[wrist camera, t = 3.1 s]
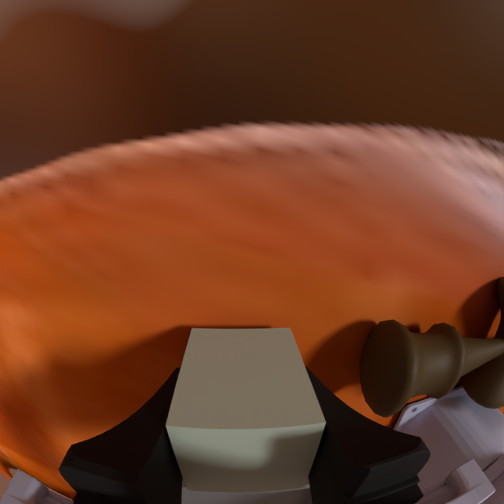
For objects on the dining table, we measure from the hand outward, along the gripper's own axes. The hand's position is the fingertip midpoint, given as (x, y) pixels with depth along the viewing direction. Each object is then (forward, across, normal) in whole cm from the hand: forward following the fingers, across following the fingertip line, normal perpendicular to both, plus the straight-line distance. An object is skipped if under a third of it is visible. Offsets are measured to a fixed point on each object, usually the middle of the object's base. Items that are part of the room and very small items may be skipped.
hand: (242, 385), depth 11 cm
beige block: (+1, 0, 0) cm, 1 cm away
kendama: (+3, -16, +1) cm, 17 cm away
